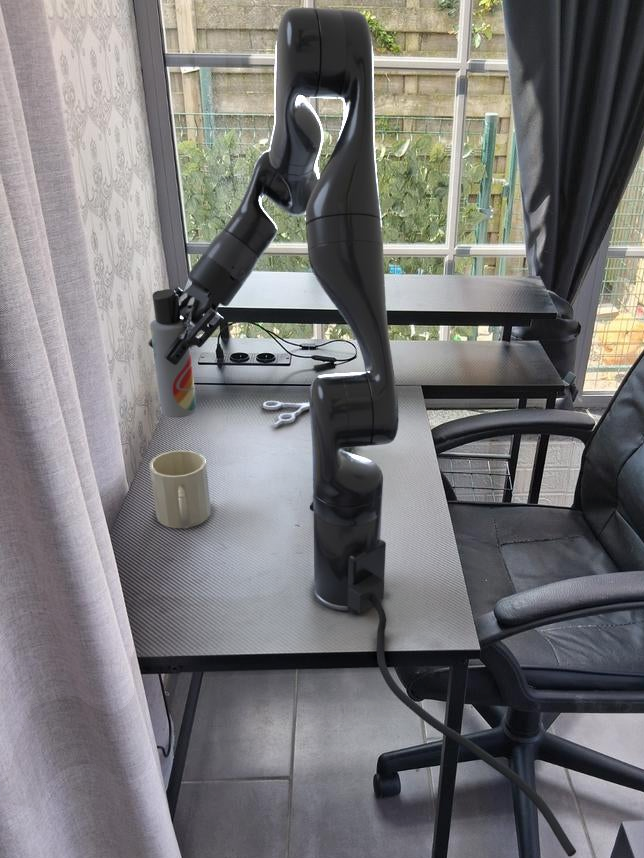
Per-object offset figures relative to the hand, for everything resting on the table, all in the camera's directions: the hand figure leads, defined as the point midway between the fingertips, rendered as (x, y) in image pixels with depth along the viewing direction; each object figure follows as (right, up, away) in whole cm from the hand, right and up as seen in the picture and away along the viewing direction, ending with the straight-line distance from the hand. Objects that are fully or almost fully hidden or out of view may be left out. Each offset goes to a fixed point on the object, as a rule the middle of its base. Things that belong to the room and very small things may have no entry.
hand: (161, 354), depth 125 cm
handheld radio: (+26, -16, +14) cm, 34 cm away
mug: (+3, -26, +3) cm, 26 cm away
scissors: (+20, -3, +40) cm, 45 cm away
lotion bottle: (+1, -8, +7) cm, 11 cm away
